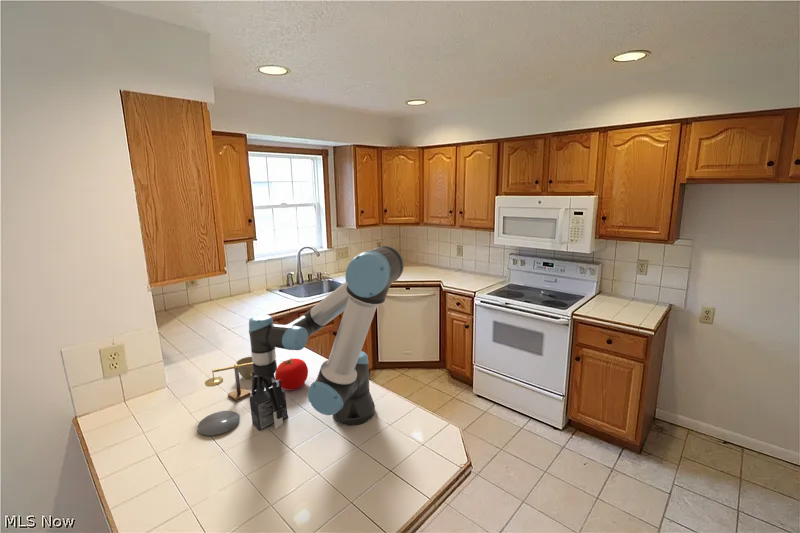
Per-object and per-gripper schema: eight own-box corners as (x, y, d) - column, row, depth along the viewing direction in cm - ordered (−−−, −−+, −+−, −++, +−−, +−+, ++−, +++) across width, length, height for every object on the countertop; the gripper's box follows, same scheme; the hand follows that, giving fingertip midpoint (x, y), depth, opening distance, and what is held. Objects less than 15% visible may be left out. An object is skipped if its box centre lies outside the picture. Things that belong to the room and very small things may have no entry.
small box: (279, 410, 138) (277, 384, 136) (288, 418, 134) (286, 391, 131) (251, 423, 131) (248, 396, 129) (259, 432, 126) (256, 403, 124)
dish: (247, 422, 131) (246, 419, 131) (209, 442, 121) (208, 438, 121) (228, 409, 139) (227, 406, 139) (191, 427, 129) (190, 423, 129)
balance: (270, 385, 156) (267, 352, 153) (213, 412, 138) (208, 375, 134) (262, 381, 159) (258, 349, 156) (205, 407, 141) (200, 370, 138)
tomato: (315, 385, 155) (314, 359, 153) (285, 399, 146) (283, 371, 143) (299, 375, 164) (297, 351, 161) (269, 388, 154) (267, 362, 152)
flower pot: (253, 383, 158) (252, 367, 156) (232, 381, 160) (230, 365, 158) (266, 372, 167) (265, 357, 166) (246, 370, 169) (244, 355, 168)
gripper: (294, 365, 124) (298, 426, 128) (256, 348, 137) (261, 404, 142) (273, 374, 118) (279, 438, 123) (236, 356, 131) (243, 413, 136)
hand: (270, 420), depth 132 cm, fingers open, 10 cm apart
